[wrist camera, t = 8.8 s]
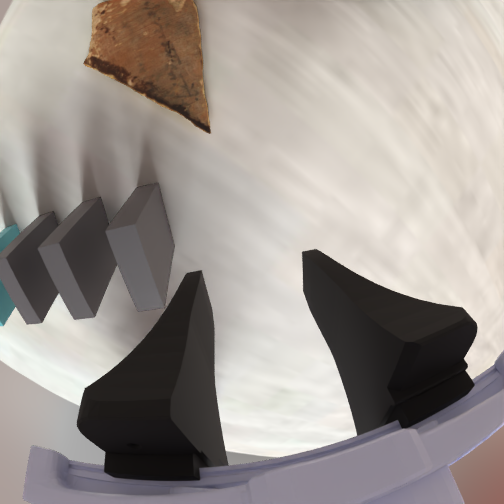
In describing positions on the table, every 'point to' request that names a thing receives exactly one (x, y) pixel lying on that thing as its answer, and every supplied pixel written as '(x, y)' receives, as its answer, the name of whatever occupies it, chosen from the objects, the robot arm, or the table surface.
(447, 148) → the table surface
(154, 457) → the robot arm
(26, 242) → the domino
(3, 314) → the domino
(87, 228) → the domino
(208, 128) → the shard
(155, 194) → the domino
